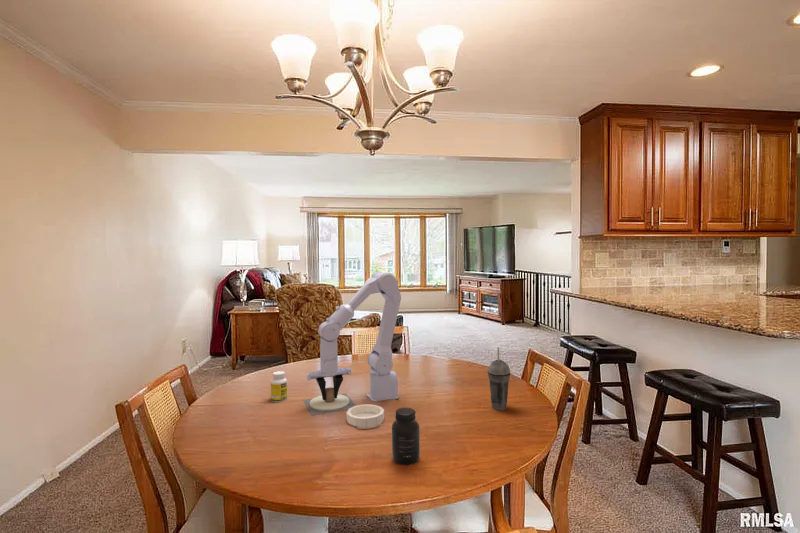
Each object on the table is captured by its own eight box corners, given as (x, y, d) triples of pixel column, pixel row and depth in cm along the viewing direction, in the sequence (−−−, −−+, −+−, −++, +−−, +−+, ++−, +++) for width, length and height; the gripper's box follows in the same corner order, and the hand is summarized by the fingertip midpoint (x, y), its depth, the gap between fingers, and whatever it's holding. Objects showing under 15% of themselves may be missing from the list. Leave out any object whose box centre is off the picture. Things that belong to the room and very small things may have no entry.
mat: (345, 395, 147) (345, 393, 147) (357, 409, 133) (357, 407, 133) (303, 401, 141) (303, 399, 141) (311, 417, 128) (311, 415, 127)
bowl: (376, 411, 132) (376, 402, 131) (389, 424, 121) (388, 414, 121) (343, 417, 127) (342, 407, 127) (353, 431, 117) (353, 420, 117)
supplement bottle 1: (282, 403, 139) (282, 375, 139) (268, 403, 140) (267, 374, 140) (290, 398, 145) (289, 370, 144) (275, 397, 146) (275, 370, 145)
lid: (343, 394, 146) (343, 380, 146) (354, 407, 134) (353, 392, 134) (306, 400, 141) (306, 385, 141) (314, 413, 129) (313, 398, 129)
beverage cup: (512, 405, 135) (512, 345, 135) (508, 413, 129) (508, 350, 128) (490, 402, 138) (490, 343, 138) (485, 410, 132) (485, 348, 131)
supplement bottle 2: (391, 452, 104) (390, 406, 104) (417, 451, 105) (417, 405, 105) (393, 466, 97) (392, 416, 97) (421, 465, 98) (421, 415, 98)
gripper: (346, 353, 143) (347, 391, 144) (304, 357, 138) (305, 397, 138) (352, 357, 137) (353, 398, 137) (308, 362, 131) (309, 404, 132)
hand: (329, 398), depth 137 cm, fingers closed on lid, 3 cm apart
